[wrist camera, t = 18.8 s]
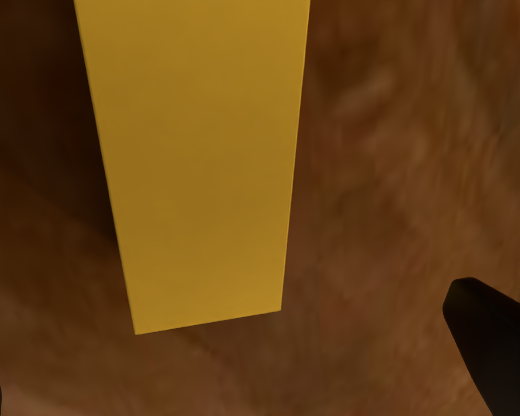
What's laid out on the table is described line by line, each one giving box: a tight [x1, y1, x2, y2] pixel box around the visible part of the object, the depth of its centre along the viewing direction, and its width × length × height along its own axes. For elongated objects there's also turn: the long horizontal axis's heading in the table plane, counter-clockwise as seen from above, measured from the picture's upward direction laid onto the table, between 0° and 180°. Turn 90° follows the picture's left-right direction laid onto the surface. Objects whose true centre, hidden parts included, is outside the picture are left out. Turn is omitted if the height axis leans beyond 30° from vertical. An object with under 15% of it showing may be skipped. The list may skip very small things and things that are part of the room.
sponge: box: [73, 0, 310, 335], centre depth 14 cm, size 5×11×4 cm, turn 178°
